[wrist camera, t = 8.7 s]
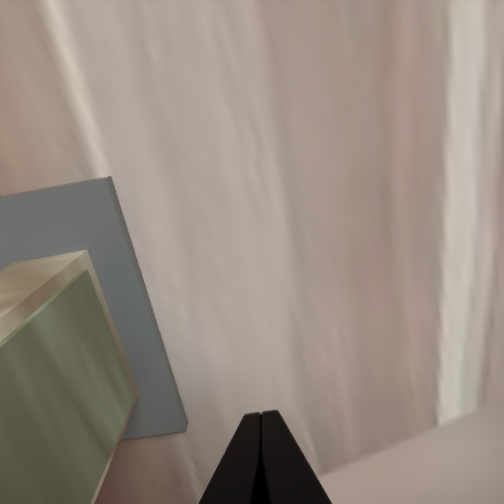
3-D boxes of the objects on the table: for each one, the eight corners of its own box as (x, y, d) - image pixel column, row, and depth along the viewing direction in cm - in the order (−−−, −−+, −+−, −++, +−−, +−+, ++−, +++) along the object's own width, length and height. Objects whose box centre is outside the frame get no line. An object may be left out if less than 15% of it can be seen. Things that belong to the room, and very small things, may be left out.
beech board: (92, 248, 14) (-102, 404, 6) (143, 393, 16) (49, 631, 9) (13, 262, 14) (-268, 430, 6) (75, 403, 16) (-75, 645, 9)
